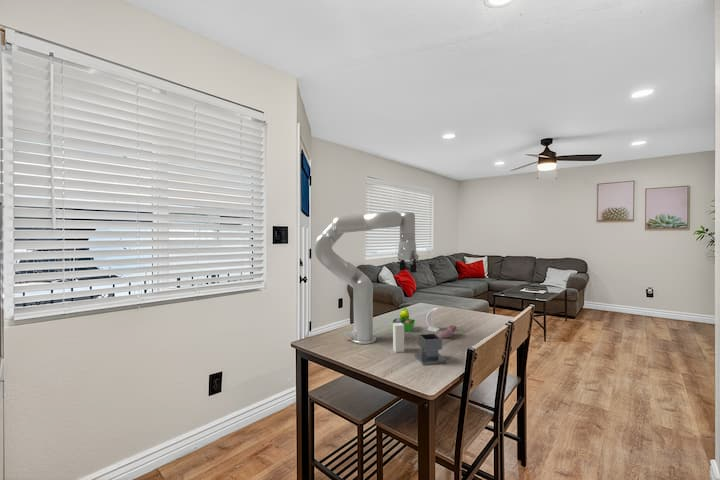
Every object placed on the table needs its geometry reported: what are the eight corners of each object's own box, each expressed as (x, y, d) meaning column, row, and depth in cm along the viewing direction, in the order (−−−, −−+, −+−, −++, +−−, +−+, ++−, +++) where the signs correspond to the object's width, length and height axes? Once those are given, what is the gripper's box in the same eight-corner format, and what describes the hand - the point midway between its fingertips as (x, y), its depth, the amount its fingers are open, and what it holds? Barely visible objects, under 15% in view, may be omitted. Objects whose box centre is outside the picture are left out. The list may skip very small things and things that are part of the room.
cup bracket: (423, 365, 125) (422, 341, 125) (414, 355, 135) (414, 333, 135) (446, 363, 127) (446, 339, 127) (436, 353, 137) (436, 332, 137)
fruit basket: (391, 330, 170) (391, 310, 170) (396, 326, 178) (396, 306, 178) (412, 333, 166) (412, 311, 165) (416, 328, 174) (415, 308, 173)
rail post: (395, 352, 139) (395, 325, 139) (393, 349, 143) (392, 323, 143) (404, 351, 140) (404, 325, 139) (401, 348, 143) (401, 322, 143)
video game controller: (447, 342, 155) (454, 331, 153) (439, 337, 157) (446, 325, 155) (453, 337, 163) (459, 326, 161) (445, 331, 165) (451, 320, 164)
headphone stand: (436, 331, 167) (436, 309, 167) (425, 330, 170) (425, 308, 170) (439, 329, 171) (439, 307, 170) (429, 327, 174) (429, 306, 174)
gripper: (392, 237, 162) (392, 270, 163) (410, 237, 147) (411, 273, 147) (404, 236, 165) (404, 269, 166) (424, 237, 150) (424, 272, 150)
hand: (407, 271), depth 156 cm, fingers open, 9 cm apart
